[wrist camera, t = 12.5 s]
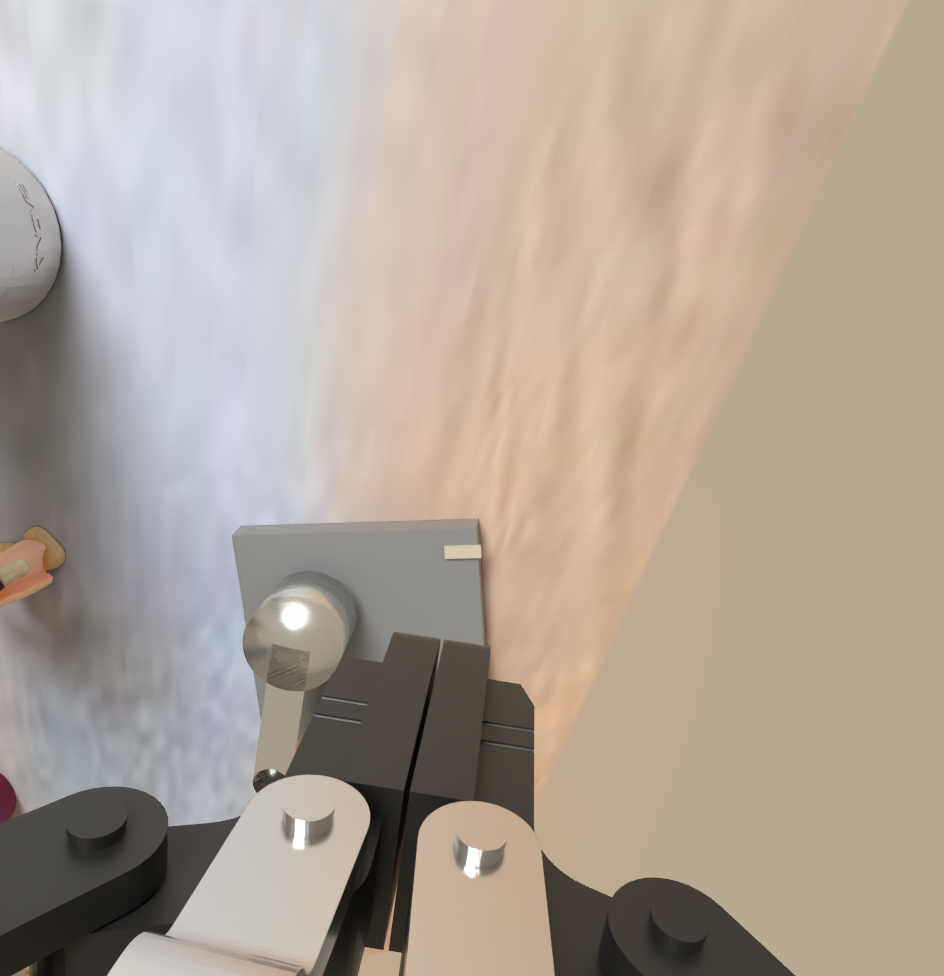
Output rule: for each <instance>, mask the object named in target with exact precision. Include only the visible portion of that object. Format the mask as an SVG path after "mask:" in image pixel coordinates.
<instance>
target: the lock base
mask: <svg viewBox="0 0 944 976" xmlns="http://www.w3.org/2000/svg"><path fill="white" fill-rule="evenodd" d="M232 539H233V545H234V552H235V558H236V564H237V571H238V577H239V583H240V589H241V596H242V602H243V608H244V614H245V621H246V626H247V624H248V622H249V621H250V619H251V618H252V617H253V615H254V614H255V613H256V611H257V610H258V609H259V607H260V606H261V605H262V603H263V602H264V600H265V599H266V598H267V596H268V595H269V594H270V592H271V591H272V590H273V588H274V587H275V586H276V584H277V583H278V582H279V581H280V580H282V579H283V578H284V577H286V576H288V575H290V574H293V573H296V572H300V571H316V572H320V573H324V574H326V575H329V576H331V577H333V578H335V579H336V580H337V581H339V582H340V583H341V584H342V585H343V586H344V587H345V588H346V589H347V590H348V591H349V593H350V594H351V596H352V598H353V600H354V603H355V606H356V611H357V620H356V625H355V628H354V631H353V633H352V635H351V638H350V640H349V642H348V644H347V646H346V648H345V651H344V653H343V655H342V657H341V659H340V661H339V664H338V666H337V668H336V670H335V671H337V670H338V669H340V668H341V667H342V666H344V665H345V664H347V663H348V662H349V661H351V660H352V659H353V658H357V659H363V660H369V661H376V662H382V663H383V660H384V657H385V654H386V651H387V649H388V646H389V643H390V640H391V638H392V635H393V633H394V632H401V633H407V634H413V635H420V636H426V637H433V638H439V639H440V651H439V658H438V665H439V660H440V656H441V652H442V647H443V643H444V639H446V640H453V641H459V642H465V643H472V644H478V645H484V646H486V636H485V620H484V603H483V587H482V571H481V558H482V551H481V545H480V538H479V521H478V519H459V520H426V521H393V522H360V523H327V524H294V525H260V526H241V527H240V528H239V529H238V530H237V531H236V532H235V533H234V534H233V535H232ZM437 669H438V666H437ZM436 674H437V673H436ZM254 677H255V683H256V690H257V696H258V702H259V708H260V715H261V720H262V713H263V705H264V698H265V691H266V683H267V682H265V681H264V680H262V679H261V678H260V677H259V676H258V675H257V674H256V673H255V672H254ZM329 679H330V678H329ZM329 679H328V680H327V681H326V682H325V683H323V684H322V685H320V686H319V687H318V693H317V700H316V706H315V710H316V707H317V705H318V703H319V701H320V699H322V694H323V692H324V690H325V688H326V686H327V684H328V682H329ZM487 679H488V676H487Z"/></svg>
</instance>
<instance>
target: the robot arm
mask: <svg viewBox="0 0 944 976" xmlns="http://www.w3.org/2000/svg"><path fill="white" fill-rule="evenodd" d="M60 256H61V239H60V230H59V225H58V221H57V218H56V215H55V211H54V208H53V206H52V204H51V202H50V200H49V198H48V196H47V194H46V192H45V190H44V188H43V187H42V186H41V184H40V183H39V182H38V180H37V179H36V178H35V176H34V175H33V174H32V172H31V171H30V170H28V169H27V168H26V167H25V166H24V165H23V164H22V163H21V162H20V161H19V160H18V159H17V158H16V157H14V156H12V155H11V154H9V153H8V152H6V151H4V150H3V149H1V148H0V322H5V321H8V320H11V319H15V318H18V317H21V316H22V315H24V314H26V313H28V312H29V311H31V310H33V309H34V308H35V307H36V306H37V305H38V304H39V303H40V302H41V301H42V300H43V299H44V298H45V297H46V296H47V294H48V292H49V290H50V289H51V287H52V285H53V284H54V282H55V279H56V275H57V272H58V269H59V266H60ZM490 648H491V646H484V645H478V644H472V643H465V642H459V641H453V640H446V639H444V643H443V647H442V652H441V656H440V660H439V665H438V658H439V651H440V639H439V638H433V637H426V636H420V635H413V634H407V633H401V632H394V633H393V635H392V638H391V640H390V643H389V646H388V649H387V651H386V654H385V657H384V660H383V663H382V662H376V661H369V660H363V659H357V658H353V659H352V660H351V661H349V662H348V663H347V664H345V665H344V666H342V667H341V668H340V669H338V670H337V671H335V672H334V673H333V674H332V675H331V677H330V679H329V682H328V684H327V686H326V688H325V690H324V692H323V694H322V699H320V701H319V703H318V705H317V707H316V710H315V712H314V716H313V717H312V718H311V720H310V722H309V725H308V727H307V729H306V731H305V733H304V735H303V738H302V740H301V742H300V744H299V746H298V748H297V750H296V753H295V755H294V757H293V759H292V761H291V763H290V766H289V768H288V770H287V772H286V774H285V776H284V779H281V780H278V781H276V782H274V783H271V784H269V785H268V786H266V787H265V788H263V789H262V790H260V791H259V792H258V793H257V794H256V795H255V796H254V797H253V799H252V800H251V801H250V802H249V804H248V806H247V807H246V809H245V810H244V812H243V814H242V815H241V816H239V817H236V818H234V819H230V820H226V821H221V822H214V823H206V824H194V825H182V826H169V827H168V816H167V813H166V810H165V808H164V807H163V806H162V804H161V803H160V802H159V801H158V800H157V799H156V798H154V797H153V796H151V795H149V794H148V793H145V792H143V791H140V790H137V789H132V788H127V787H101V788H94V789H89V790H85V791H81V792H78V793H75V794H73V795H70V796H67V797H65V798H62V799H60V800H58V801H55V802H53V803H50V804H48V805H45V806H43V807H40V808H38V809H36V810H33V811H31V812H28V813H26V814H23V815H21V816H19V817H16V818H14V819H11V820H9V821H6V822H4V823H2V824H0V976H11V975H13V974H15V973H17V972H18V971H20V970H22V969H24V968H26V967H28V966H29V970H30V976H358V972H359V968H360V964H361V960H362V955H363V951H364V947H369V948H375V949H381V950H383V949H384V944H385V940H386V935H387V930H388V926H389V921H390V916H391V912H392V907H393V902H394V897H395V893H396V900H395V908H394V915H393V923H392V930H391V938H390V946H389V951H395V952H401V953H402V956H401V964H400V971H399V976H795V975H794V974H793V973H792V972H790V970H789V969H788V968H786V967H785V966H784V965H783V964H782V963H781V962H780V961H779V960H777V958H776V957H775V956H773V955H772V954H771V953H770V952H769V951H768V950H767V949H766V948H765V947H764V946H763V945H762V944H761V943H760V942H758V941H757V940H756V939H755V938H754V937H753V936H752V935H751V934H750V933H749V932H748V931H747V930H745V929H744V928H743V927H742V926H741V925H740V924H739V923H738V922H737V921H736V920H735V919H733V917H731V916H730V915H729V914H728V913H727V912H726V911H725V910H724V909H723V908H722V907H721V906H720V905H718V904H717V903H716V902H715V901H714V900H712V899H711V898H710V897H708V896H707V895H705V894H703V893H702V892H700V891H698V890H696V889H695V888H692V887H691V886H688V885H685V884H683V883H680V882H677V881H673V880H669V879H663V878H643V879H637V880H635V881H631V882H629V883H627V884H625V885H624V886H622V887H621V888H620V889H619V890H618V891H617V892H616V893H615V894H614V896H613V898H612V897H610V896H607V895H605V894H603V893H600V892H598V891H596V890H594V889H591V888H589V887H587V886H585V885H583V884H581V883H579V882H577V881H575V880H573V879H571V878H570V877H569V876H567V875H566V874H564V873H563V872H562V871H560V870H559V869H558V868H557V867H556V866H554V864H553V863H552V862H551V861H550V860H549V859H548V858H547V857H546V855H545V854H544V853H543V851H542V850H541V847H540V843H539V840H538V838H537V836H536V834H535V833H534V753H533V752H534V705H533V703H532V702H531V700H530V699H529V697H528V696H527V694H526V692H525V691H524V689H523V688H522V686H521V684H515V683H509V682H502V681H496V680H490V679H487V676H488V667H489V658H490ZM437 666H438V669H437ZM436 673H437V674H436ZM397 883H398V885H397ZM396 888H397V892H396Z"/></svg>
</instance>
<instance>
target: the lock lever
mask: <svg viewBox="0 0 944 976" xmlns="http://www.w3.org/2000/svg"><path fill="white" fill-rule="evenodd" d="M356 620H357V611H356V606H355V603H354V600H353V598H352V596H351V594H350V593H349V591H348V590H347V589H346V588H345V587H344V586H343V585H342V584H341V583H340V582H339V581H337V580H336V579H335V578H333V577H331V576H329V575H326V574H324V573H320V572H316V571H300V572H296V573H293V574H290V575H288V576H286V577H284V578H283V579H282V580H280V581H279V582H278V583H277V584H276V586H275V587H274V588H273V590H272V591H271V592H270V594H269V595H268V596H267V598H266V599H265V600H264V602H263V603H262V605H261V606H260V607H259V609H258V610H257V611H256V613H255V614H254V615H253V617H252V618H251V619H250V621H249V622H248V624H247V626H246V628H245V631H244V635H243V650H244V654H245V657H246V660H247V662H248V664H249V665H250V667H251V668H252V670H253V671H254V672H255V673H256V674H257V675H258V676H259V677H260V678H261V679H262V680H264V681H265V682H267V683H266V691H265V698H264V705H263V713H262V720H261V727H260V735H259V742H258V749H257V757H256V764H255V771H254V779H253V786H254V789H255V791H256V792H257V793H258V792H259V791H260V790H262V789H263V788H265V787H266V786H268V785H269V784H271V783H274V782H276V781H278V780H281V779H284V776H285V774H286V772H287V770H288V768H289V766H290V763H291V761H292V759H293V757H294V755H295V753H296V750H297V748H298V746H299V744H300V742H301V740H302V738H303V735H304V733H305V731H306V729H307V727H308V725H309V722H310V720H311V718H312V717H313V716H314V712H315V706H316V700H317V693H318V687H319V686H320V685H322V684H323V683H325V682H326V681H327V680H328V679H329V678H330V677H331V675H332V674H333V673H334V672H335V670H336V668H337V666H338V664H339V661H340V659H341V657H342V655H343V653H344V651H345V648H346V646H347V644H348V642H349V640H350V638H351V635H352V633H353V631H354V628H355V625H356Z"/></svg>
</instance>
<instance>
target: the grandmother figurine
mask: <svg viewBox="0 0 944 976" xmlns="http://www.w3.org/2000/svg"><path fill="white" fill-rule="evenodd" d="M64 561H65V552H64V550H63V548H62V547H61V545H60V544H59V543H58V542H57V541H56V540H55V539H54V538H53V537H52V536H51V535H50V534H49V533H48V532H47V531H46V530H45V529H43V528H42V527H32V528H30V529H29V530H27V531H26V532H25V534H24V536H23V540H22V541H20V542H18V543H16V544H14V543H11V542H5V543H1V544H0V607H1V606H4V605H6V604H9V603H11V602H14V601H17V600H19V599H22V598H24V597H27V596H29V595H31V594H33V593H35V592H37V591H39V590H41V589H42V588H44V587H46V586H48V585H49V584H51V583H52V581H53V576H51V574H49V573H47V572H46V571H48V570H53V569H56V568H58V567H59V566H61V565H62V564H63V563H64ZM45 570H46V571H45Z"/></svg>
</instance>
